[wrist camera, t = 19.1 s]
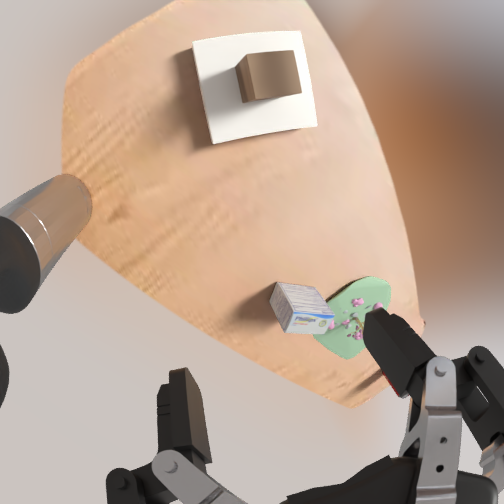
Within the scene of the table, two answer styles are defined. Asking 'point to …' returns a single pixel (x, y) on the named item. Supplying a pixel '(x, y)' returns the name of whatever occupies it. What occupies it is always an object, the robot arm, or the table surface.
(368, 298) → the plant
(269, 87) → the walnut block
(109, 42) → the table surface
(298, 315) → the medicine box
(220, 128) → the stand
